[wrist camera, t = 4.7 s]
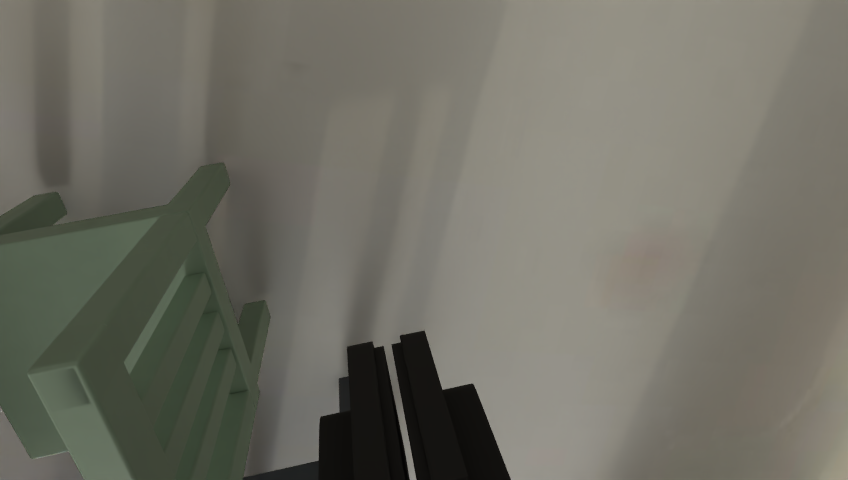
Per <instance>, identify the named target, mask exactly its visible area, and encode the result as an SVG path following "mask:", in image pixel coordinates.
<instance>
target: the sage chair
mask: <svg viewBox="0 0 848 480" xmlns="http://www.w3.org/2000/svg"><path fill="white" fill-rule="evenodd" d="M229 186H230V180H229V177H228V174H227V170H226V167H225V164H224V163H217V164H211V165H206V166H201V167H200V168H199V169H198V170H197V171H196V173H195V174H194V175H193V176H192V177H191V178H190V179H189V181H188V182H187V183H186V184H185V185H184V186H183V188H182V189H181V190H180V191H179V192H178V193H177V195H176V196H175V197H174V198H173V199H172V200H171V201H170V203H169V204H168V205H163V206H158V207H152V208H147V209H141V210H136V211H130V212H125V213H119V214H114V215H108V216H103V217H97V218H92V219H86V220H81V221H75V222H70V223H64V224H59V225H53V224H54V223H56V222H57V221H58V220H60V219H61V218H62V217H64V216H65V215H66V214H67V211H66V209H65V206H64V204H63V202H62V200H61V197H60V195H59V193H58V192H52V193H46V194H41V195H35V196H33V197H31V198H29V199H28V200H26V201H25V202H23V203H21V204H20V205H18V206H16V207H15V208H13V209H11V210H10V211H8V212H6V213H5V214H3V215H1V216H0V406H1V408H2V410H3V411H4V413H5V415H6V416H7V418H8V420H9V422H10V423H11V425H12V427H13V428H14V430H15V432H16V434H17V435H18V437H19V439H20V441H21V442H22V444H23V446H24V447H25V449H26V451H27V453H28V454H29V456H30V458H31V459H36V458H41V457H45V456H50V455H55V454H59V453H64V452H68V451H69V453H70V455H71V457H72V458H73V460H74V462H75V464H76V466H77V468H78V470H79V471H80V473H81V475H82V477H83V479H84V480H243V476H244V470H245V465H246V460H247V455H248V449H249V444H250V439H251V434H252V429H253V423H254V418H255V413H256V409H257V404H258V398H259V393H260V390H259V387H258V384H257V381H258V376H259V372H260V367H261V362H262V357H263V352H264V347H265V342H266V337H267V332H268V327H269V322H270V314H269V310H268V307H267V304H266V301H265V300H263V301H258V302H253V303H248V304H245V305H244V307H243V310H242V314H241V317H240V320H239V324H237V321H236V318H235V315H234V312H233V309H232V306H231V303H230V300H229V297H228V294H227V291H226V288H225V285H224V282H223V279H222V275H221V272H220V269H219V266H218V263H217V260H216V257H215V254H214V251H213V248H212V245H211V242H210V239H209V236H208V233H207V230H206V227H205V226H206V224H207V223H208V221H209V219H210V218H211V216H212V214H213V213H214V211H215V209H216V208H217V206H218V204H219V203H220V201H221V199H222V198H223V196H224V194H225V193H226V191H227V189H228V188H229ZM52 225H53V226H52Z"/></svg>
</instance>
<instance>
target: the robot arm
mask: <svg viewBox="0 0 848 480" xmlns="http://www.w3.org/2000/svg"><path fill="white" fill-rule="evenodd" d="M400 339H401V343H396V344H391V345H392V350H393V355H394V361H395V366H396V371H397V377H398V382H399V388H400V393H401V398H402V404H403V409H404V414H405V420H406V425H407V430H408V436H409V441H410V446H411V452H412V457H413V463H414V468H415V473H416V479H417V480H511V479H510V476H509V474H508V471H507V469H506V466H505V464H504V461H503V458H502V456H501V453H500V451H499V448H498V445H497V443H496V440H495V438H494V435H493V433H492V430H491V427H490V425H489V422H488V420H487V417H486V414H485V412H484V409H483V407H482V404H481V402H480V399H479V396H478V394H477V391H476V389H475V387H474V385H473V384H468V385H463V386H459V387H454V388H450V389H445V390H442V387H441V384H440V381H439V377H438V374H437V370H436V367H435V364H434V360H433V357H432V354H431V350H430V347H429V344H428V340H427V337H426V334H425V331H420V332H415V333H410V334H406V335H401V336H400ZM347 354H348V373H349V391H350V410H349V411H345V412H340V413H336V414H331V415H326V416H322V417H321V418H320V428H319V471H318V480H410V479H409V473H408V467H407V462H406V456H405V450H404V445H403V440H402V435H401V430H400V425H399V420H398V415H397V410H396V405H395V400H394V395H393V390H392V385H391V380H390V375H389V371H388V366H387V361H386V356H385V351H384V346H381V347H377V348H374V345H373V342H367V343H362V344H358V345H353V346H348V347H347Z"/></svg>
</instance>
